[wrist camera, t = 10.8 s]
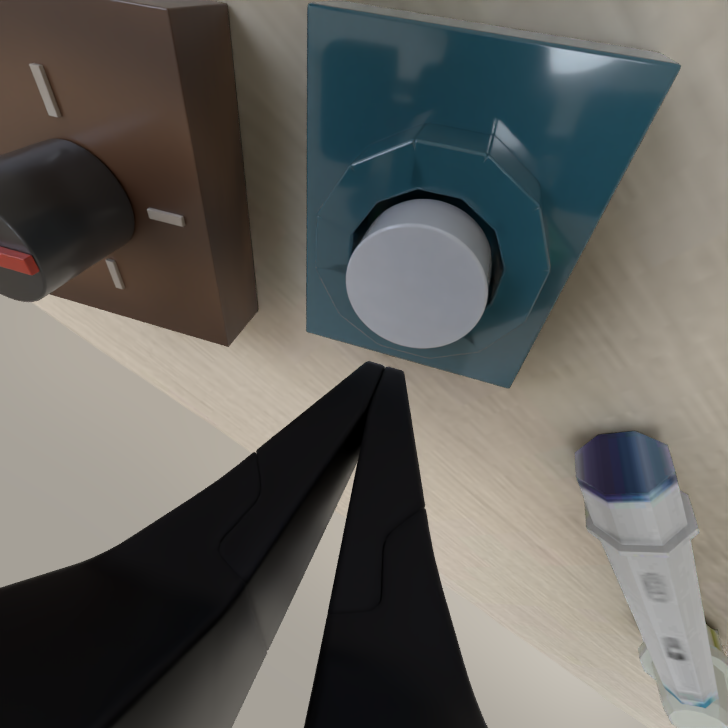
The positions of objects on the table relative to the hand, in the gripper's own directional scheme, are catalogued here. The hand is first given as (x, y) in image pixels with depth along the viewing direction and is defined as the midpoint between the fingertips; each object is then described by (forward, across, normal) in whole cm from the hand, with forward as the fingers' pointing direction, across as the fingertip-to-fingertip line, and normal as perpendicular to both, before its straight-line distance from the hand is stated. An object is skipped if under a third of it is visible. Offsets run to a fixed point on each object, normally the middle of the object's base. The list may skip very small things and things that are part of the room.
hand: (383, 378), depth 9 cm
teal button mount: (+9, 0, 0) cm, 9 cm away
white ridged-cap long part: (+9, -18, +18) cm, 27 cm away
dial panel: (+9, +13, +1) cm, 16 cm away
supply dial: (+6, +13, +1) cm, 14 cm away
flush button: (+5, 0, 0) cm, 5 cm away
